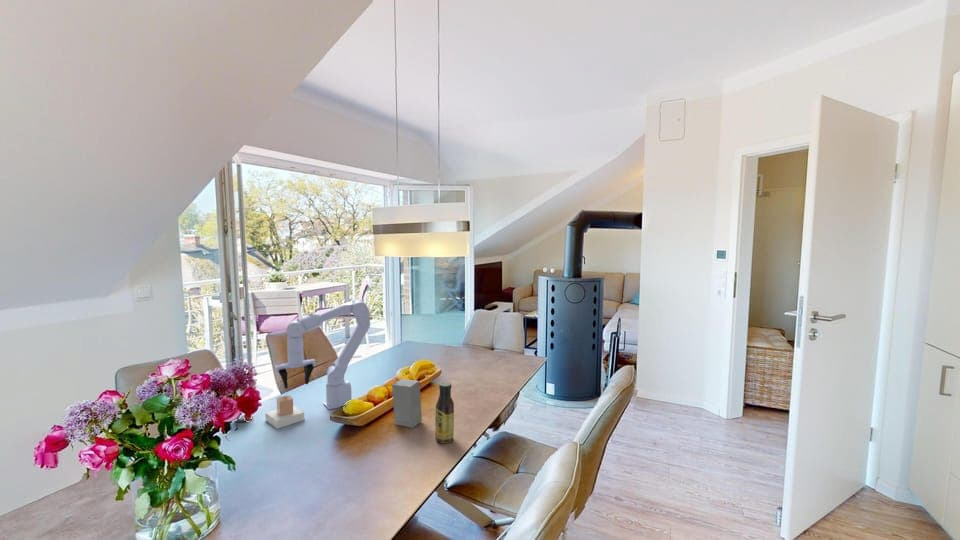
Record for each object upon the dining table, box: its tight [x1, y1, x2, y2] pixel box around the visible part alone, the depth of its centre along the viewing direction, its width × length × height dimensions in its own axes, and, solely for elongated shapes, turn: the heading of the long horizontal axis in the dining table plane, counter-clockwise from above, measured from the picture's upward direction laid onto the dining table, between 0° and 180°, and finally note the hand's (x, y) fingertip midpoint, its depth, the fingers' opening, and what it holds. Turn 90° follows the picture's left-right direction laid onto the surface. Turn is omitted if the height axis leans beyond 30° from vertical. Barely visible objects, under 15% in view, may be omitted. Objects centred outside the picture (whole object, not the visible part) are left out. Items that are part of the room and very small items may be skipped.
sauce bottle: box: [434, 381, 455, 444], centre depth 139 cm, size 6×6×20 cm
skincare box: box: [391, 378, 423, 429], centre depth 152 cm, size 8×7×16 cm
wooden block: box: [276, 394, 294, 416], centre depth 153 cm, size 5×5×6 cm
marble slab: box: [265, 404, 305, 430], centre depth 154 cm, size 10×10×3 cm
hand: (296, 385), depth 163 cm, fingers open, 7 cm apart
